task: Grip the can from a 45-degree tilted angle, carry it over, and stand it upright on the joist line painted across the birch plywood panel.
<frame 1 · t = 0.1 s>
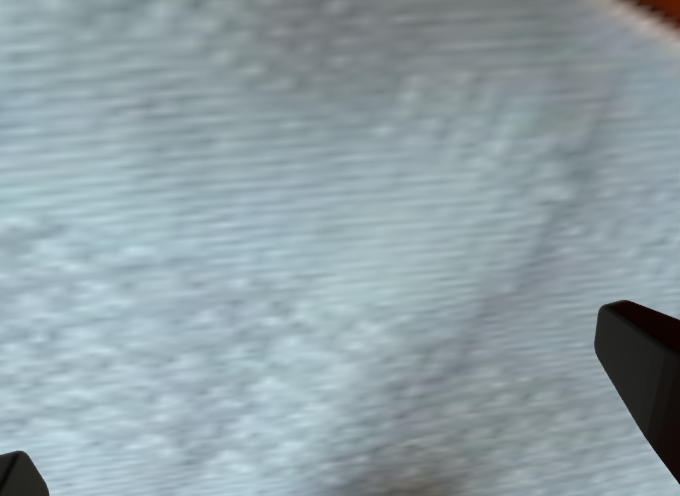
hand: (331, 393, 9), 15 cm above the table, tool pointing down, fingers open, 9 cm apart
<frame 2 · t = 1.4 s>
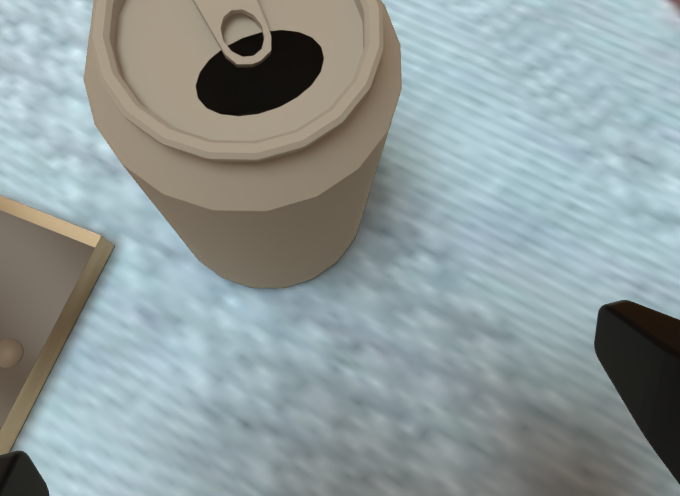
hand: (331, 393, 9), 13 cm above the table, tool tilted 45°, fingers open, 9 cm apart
can: (271, 204, 24), on the table
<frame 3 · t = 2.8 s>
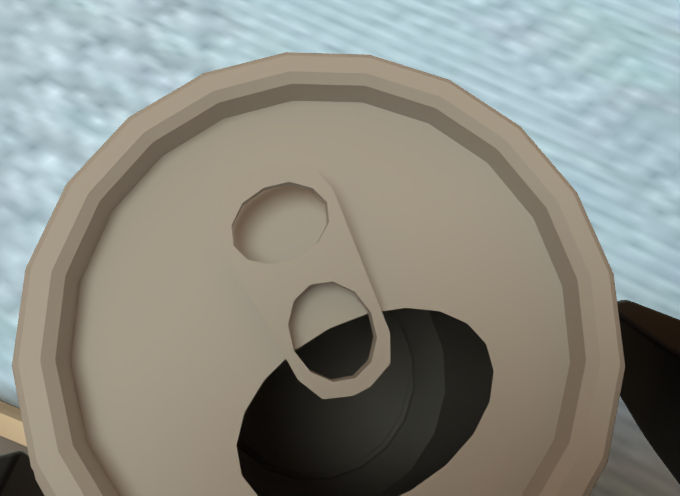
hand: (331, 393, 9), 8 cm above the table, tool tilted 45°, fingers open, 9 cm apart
can: (314, 372, 17), on the table
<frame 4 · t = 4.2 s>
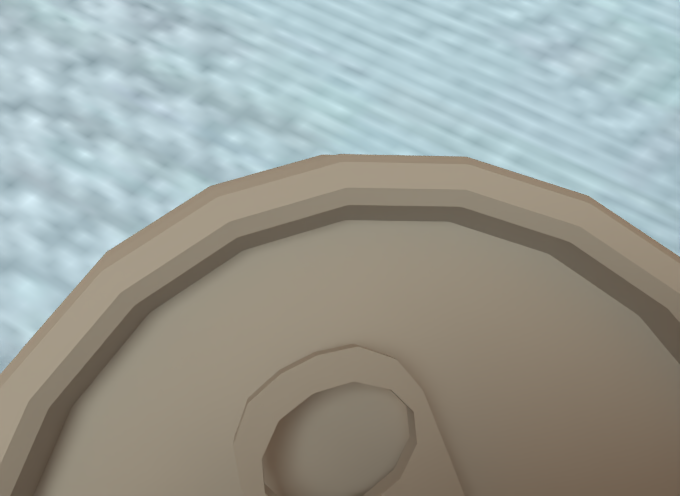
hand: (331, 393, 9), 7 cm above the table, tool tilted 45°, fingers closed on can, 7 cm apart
can: (333, 447, 15), on the table, touching gripper
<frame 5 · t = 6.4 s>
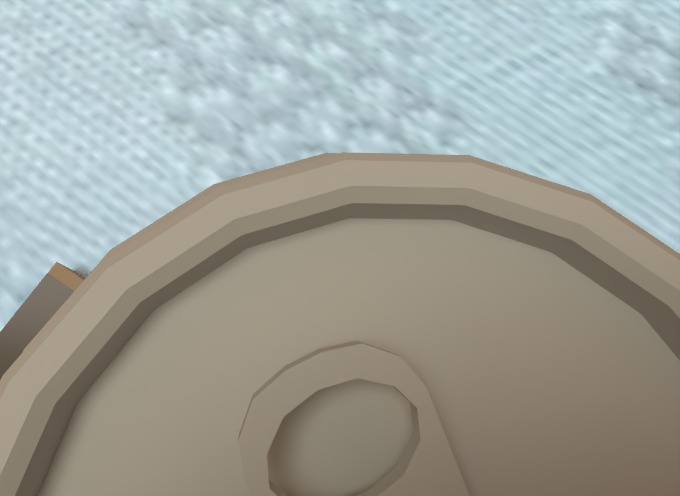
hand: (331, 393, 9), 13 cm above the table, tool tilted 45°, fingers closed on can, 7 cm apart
can: (334, 446, 15), point 7 cm above the table, touching gripper
when the fingers open (9 cm above the table, at t = 8.9 s): can stays where it is, resting on subfloor panel.
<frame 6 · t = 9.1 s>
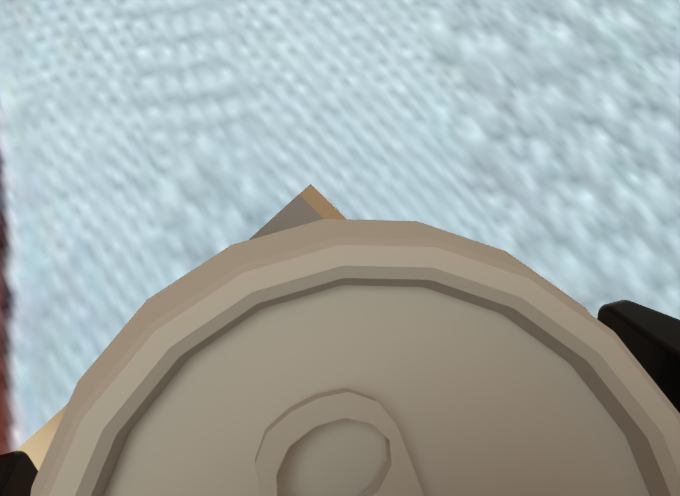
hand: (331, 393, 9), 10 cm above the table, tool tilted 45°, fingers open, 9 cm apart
can: (331, 450, 16), point 1 cm above the table, touching subfloor panel
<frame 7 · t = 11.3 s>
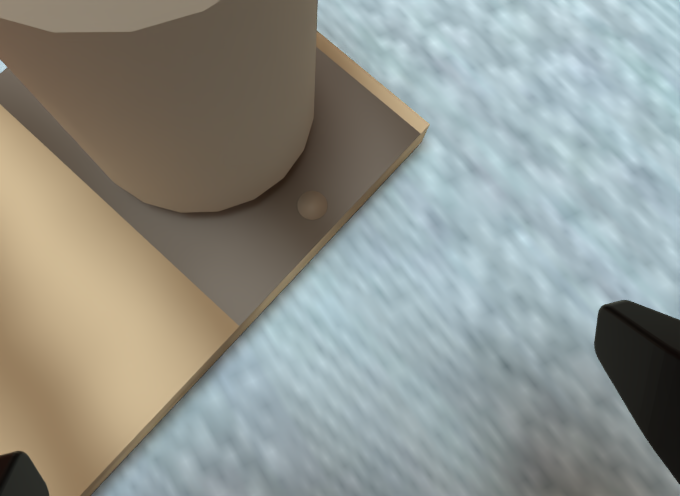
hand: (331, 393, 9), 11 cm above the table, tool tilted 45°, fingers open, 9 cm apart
can: (205, 119, 20), point 1 cm above the table, touching subfloor panel
subfloor panel: (131, 206, 21), on the table
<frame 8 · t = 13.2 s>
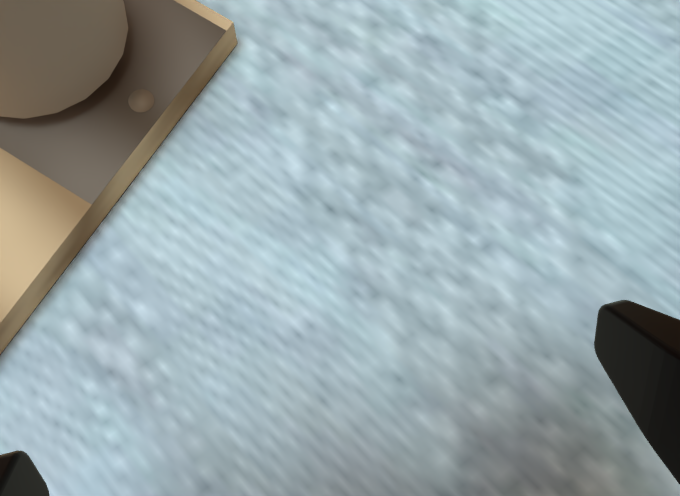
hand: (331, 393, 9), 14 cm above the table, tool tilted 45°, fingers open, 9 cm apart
can: (42, 47, 24), point 1 cm above the table, touching subfloor panel
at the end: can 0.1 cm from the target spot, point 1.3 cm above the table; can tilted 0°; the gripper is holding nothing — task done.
